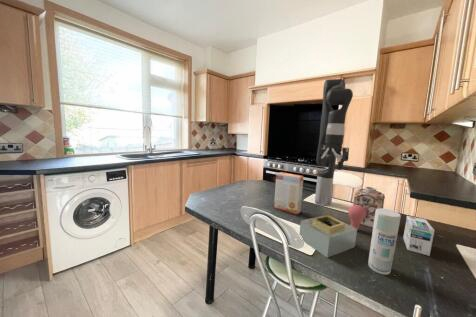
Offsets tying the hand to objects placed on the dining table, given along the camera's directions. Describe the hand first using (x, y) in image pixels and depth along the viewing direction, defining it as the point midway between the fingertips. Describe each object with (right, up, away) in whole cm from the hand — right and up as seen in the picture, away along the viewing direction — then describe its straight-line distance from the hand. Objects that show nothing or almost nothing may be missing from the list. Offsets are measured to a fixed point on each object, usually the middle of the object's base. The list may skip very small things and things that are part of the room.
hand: (331, 167), depth 93 cm
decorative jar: (+22, -28, +8) cm, 37 cm away
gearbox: (-8, -30, -13) cm, 34 cm away
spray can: (+4, -33, -27) cm, 42 cm away
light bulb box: (+28, -32, -13) cm, 44 cm away
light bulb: (+11, -29, -1) cm, 31 cm away
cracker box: (-16, -25, +19) cm, 35 cm away
